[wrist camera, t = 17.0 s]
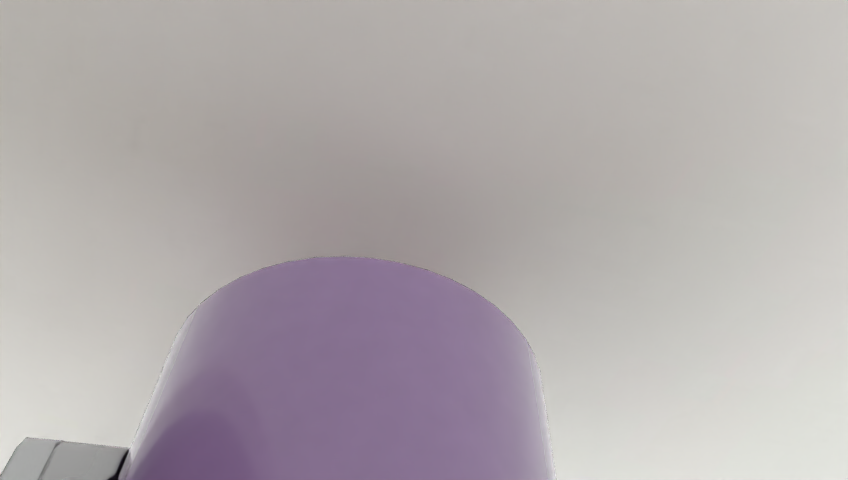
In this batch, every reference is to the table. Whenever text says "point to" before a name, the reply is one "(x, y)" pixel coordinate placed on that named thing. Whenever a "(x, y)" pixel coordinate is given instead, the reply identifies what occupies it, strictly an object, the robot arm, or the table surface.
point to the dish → (345, 382)
